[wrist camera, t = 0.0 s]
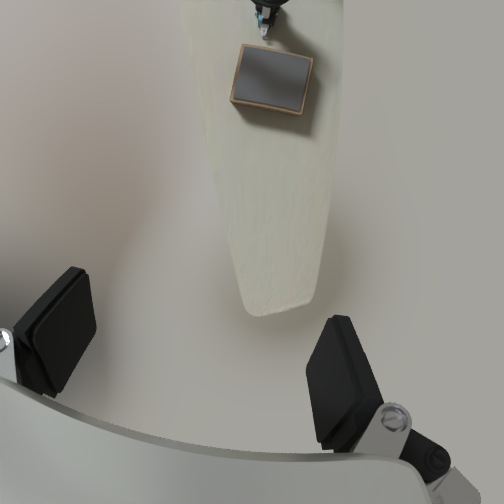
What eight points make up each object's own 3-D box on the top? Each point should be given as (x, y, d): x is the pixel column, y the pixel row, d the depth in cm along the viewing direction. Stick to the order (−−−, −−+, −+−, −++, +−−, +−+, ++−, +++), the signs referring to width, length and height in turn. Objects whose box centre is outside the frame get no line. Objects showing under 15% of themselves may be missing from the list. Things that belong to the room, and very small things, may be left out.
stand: (242, 50, 31) (241, 43, 27) (308, 63, 31) (313, 57, 28) (231, 102, 34) (229, 100, 30) (297, 115, 35) (302, 114, 31)
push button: (281, 40, 30) (290, 14, 21) (242, 34, 29) (239, 7, 20) (288, 3, 27) (297, -28, 18) (250, -2, 27) (249, -35, 18)
